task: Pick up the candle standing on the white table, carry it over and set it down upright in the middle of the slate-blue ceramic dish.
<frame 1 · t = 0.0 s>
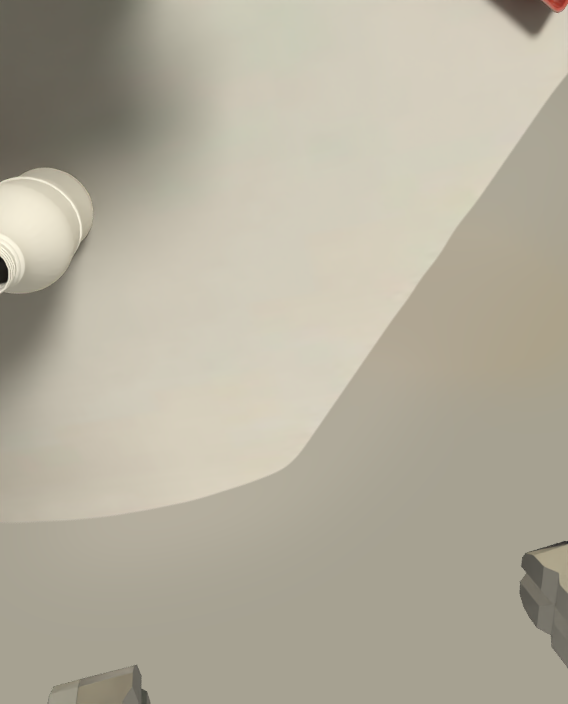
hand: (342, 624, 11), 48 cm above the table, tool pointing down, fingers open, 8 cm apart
water bottle: (56, 205, 51), on the table
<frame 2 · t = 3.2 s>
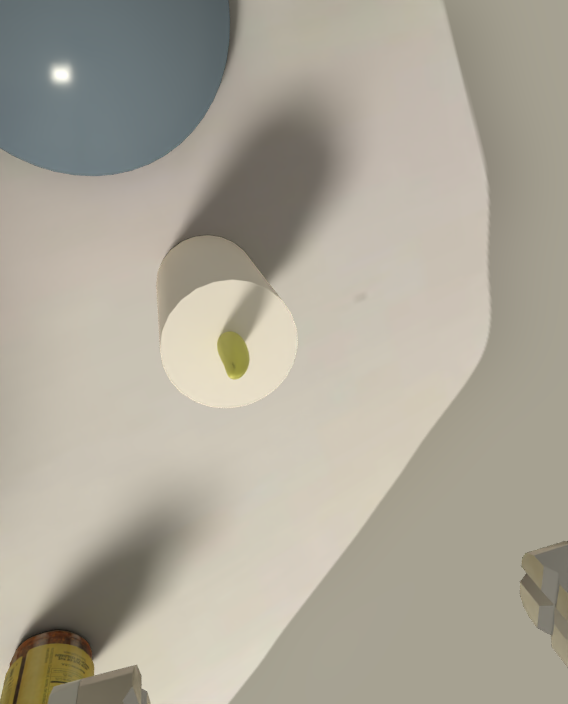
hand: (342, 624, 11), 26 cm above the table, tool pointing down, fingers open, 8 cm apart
candle dish: (77, 17, 27), on the table
candle: (208, 285, 34), on the table
sauce bottle: (56, 650, 42), on the table
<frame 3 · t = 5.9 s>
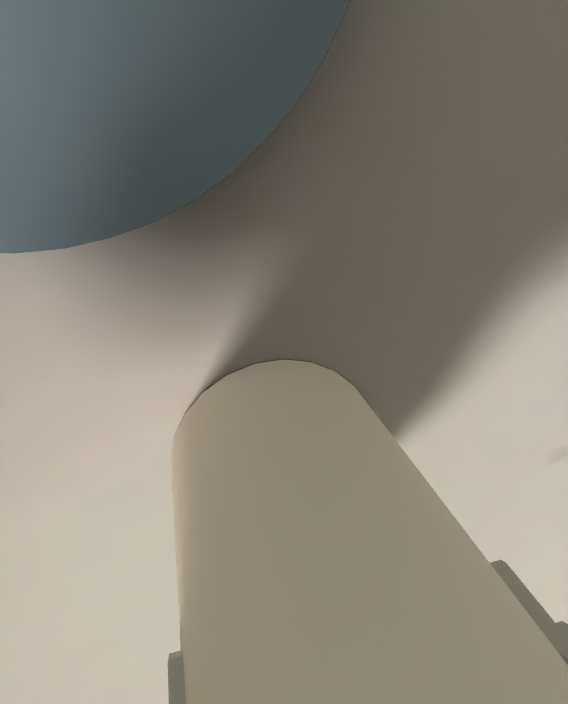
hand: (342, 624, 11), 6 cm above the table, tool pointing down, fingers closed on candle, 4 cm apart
candle: (277, 452, 17), on the table, touching gripper
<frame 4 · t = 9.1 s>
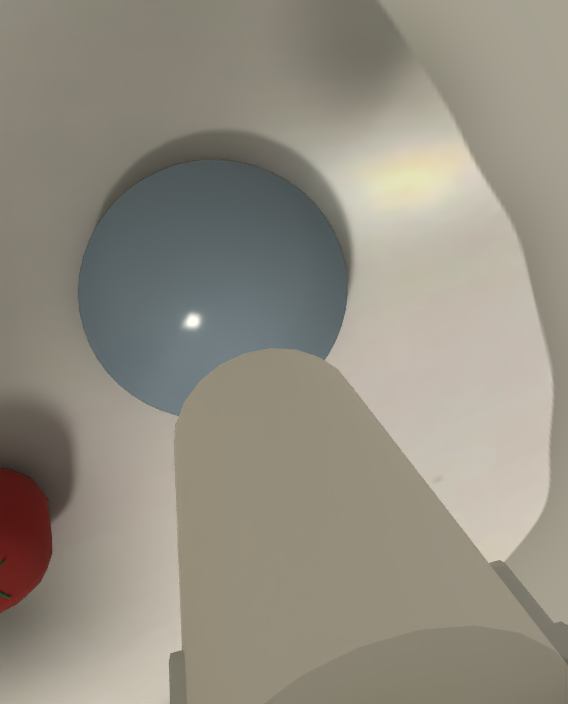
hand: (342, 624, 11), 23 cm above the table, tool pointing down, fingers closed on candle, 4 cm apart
candle dish: (217, 293, 32), on the table
candle: (272, 436, 18), point 15 cm above the table, touching gripper
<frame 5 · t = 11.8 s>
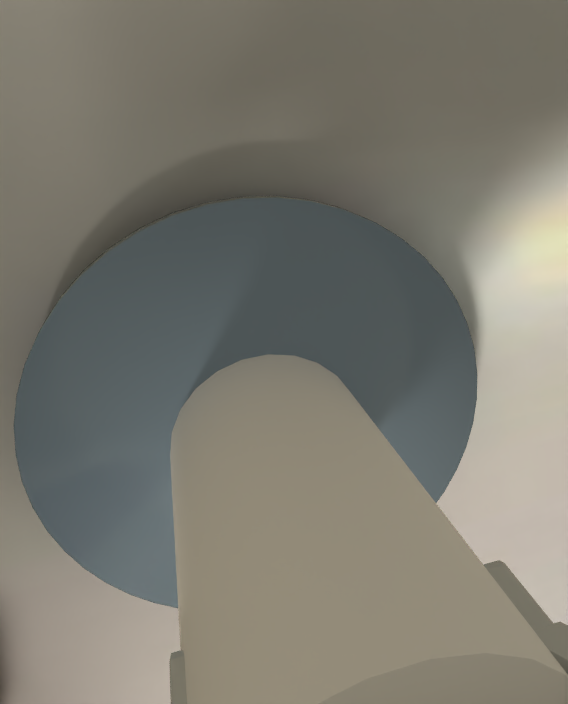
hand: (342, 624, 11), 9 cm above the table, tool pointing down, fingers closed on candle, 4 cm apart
candle dish: (257, 413, 19), on the table
candle: (269, 442, 18), point 1 cm above the table, touching candle dish, gripper
when the fingers open (9 cm above the table, at t = 12.6 s): candle stays where it is, resting on candle dish.
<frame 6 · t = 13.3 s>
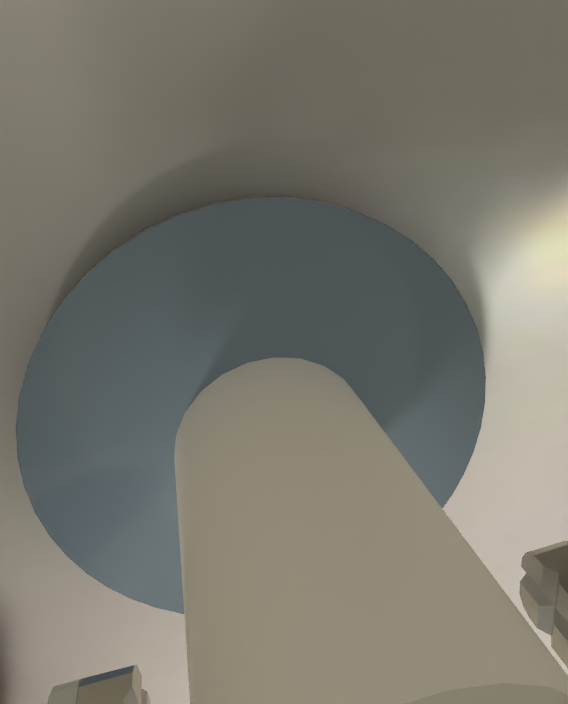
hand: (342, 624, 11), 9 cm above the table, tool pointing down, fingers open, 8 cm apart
candle dish: (262, 416, 19), on the table
candle: (274, 445, 18), point 1 cm above the table, touching candle dish
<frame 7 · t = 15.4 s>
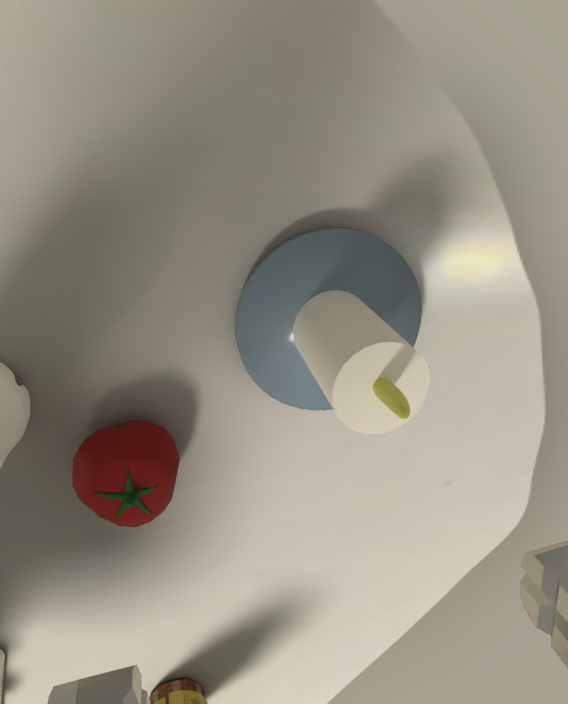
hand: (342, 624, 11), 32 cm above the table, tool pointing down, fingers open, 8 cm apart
candle dish: (326, 319, 43), on the table
candle: (332, 328, 42), point 1 cm above the table, touching candle dish
sauce bottle: (178, 692, 57), on the table
tomato: (130, 448, 45), on the table
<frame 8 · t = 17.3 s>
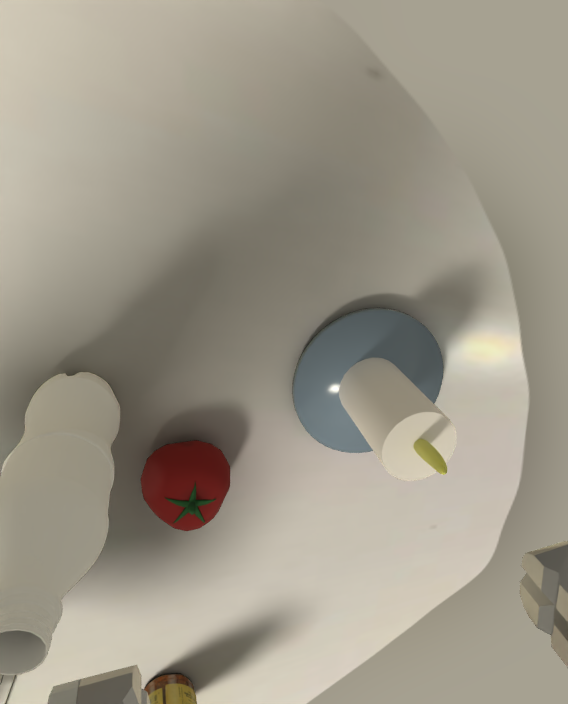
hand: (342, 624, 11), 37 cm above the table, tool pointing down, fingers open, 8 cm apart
candle dish: (364, 378, 53), on the table
candle: (370, 387, 52), point 1 cm above the table, touching candle dish
sauce bottle: (169, 686, 63), on the table
water bottle: (79, 398, 47), on the table
tomato: (183, 462, 52), on the table
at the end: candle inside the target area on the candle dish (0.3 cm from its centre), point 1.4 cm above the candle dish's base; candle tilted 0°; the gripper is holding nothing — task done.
